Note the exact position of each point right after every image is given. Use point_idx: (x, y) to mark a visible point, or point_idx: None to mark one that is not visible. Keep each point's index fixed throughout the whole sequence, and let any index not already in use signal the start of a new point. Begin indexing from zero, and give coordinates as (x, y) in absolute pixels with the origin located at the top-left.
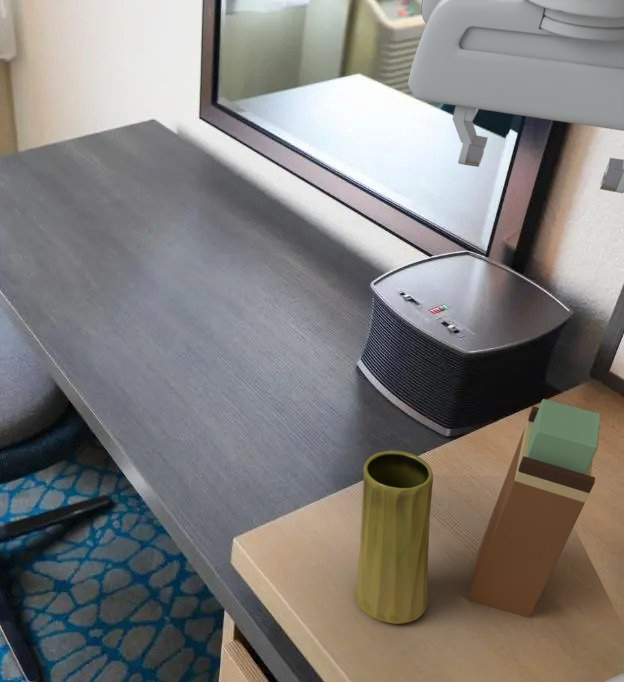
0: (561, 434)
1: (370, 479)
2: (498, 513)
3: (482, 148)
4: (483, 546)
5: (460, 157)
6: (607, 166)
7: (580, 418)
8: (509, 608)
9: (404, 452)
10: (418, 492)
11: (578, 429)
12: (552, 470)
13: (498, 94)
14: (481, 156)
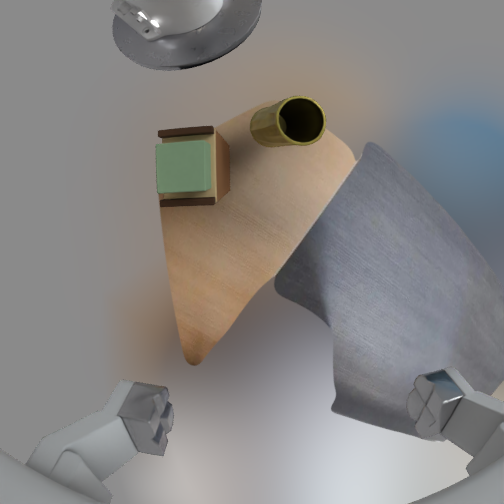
0: (184, 145)
1: (317, 103)
2: (222, 154)
3: (441, 400)
4: (227, 170)
5: (457, 373)
6: (161, 435)
7: (171, 176)
8: None
9: (301, 144)
10: (281, 103)
11: (171, 159)
12: (188, 127)
13: None
14: (417, 401)
